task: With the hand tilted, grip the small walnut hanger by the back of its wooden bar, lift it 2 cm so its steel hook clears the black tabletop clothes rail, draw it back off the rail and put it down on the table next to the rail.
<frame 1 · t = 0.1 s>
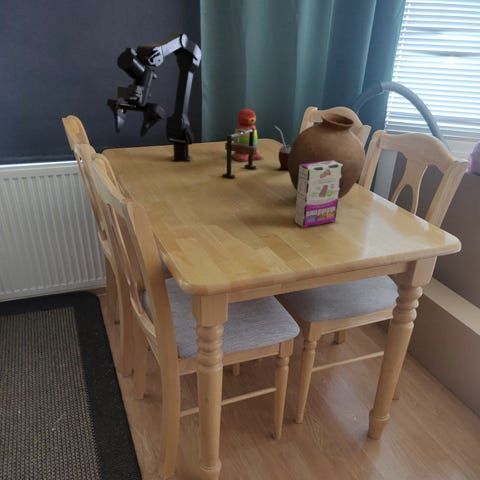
hand: (129, 135, 153), 15 cm above the table, tool tilted 35°, fingers open, 9 cm apart
clothes rail: (239, 172, 173), on the table
mate gourd: (285, 169, 178), on the table
pottery: (320, 198, 153), on the table
candy bar box: (314, 223, 136), on the table
hanger: (240, 148, 168), point 8 cm above the table, touching clothes rail
stacking bear: (245, 157, 190), on the table
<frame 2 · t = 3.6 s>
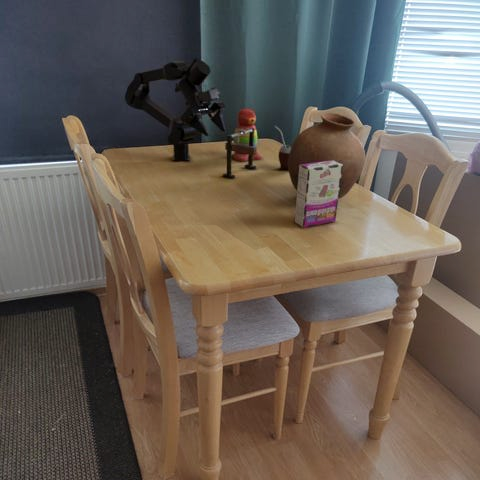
hand: (216, 133, 169), 12 cm above the table, tool tilted 45°, fingers open, 9 cm apart
nothing on the table moved.
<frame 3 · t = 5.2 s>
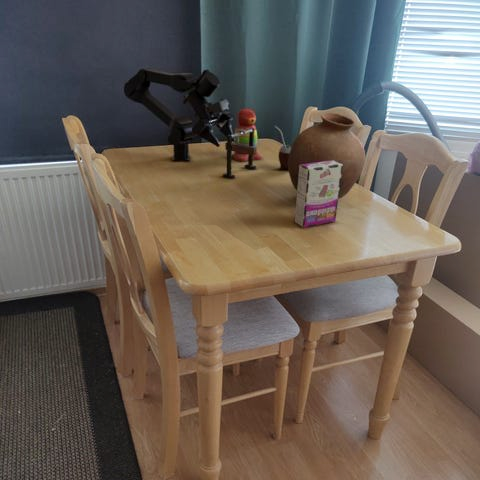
hand: (226, 143, 170), 9 cm above the table, tool tilted 45°, fingers open, 9 cm apart
nothing on the table moved.
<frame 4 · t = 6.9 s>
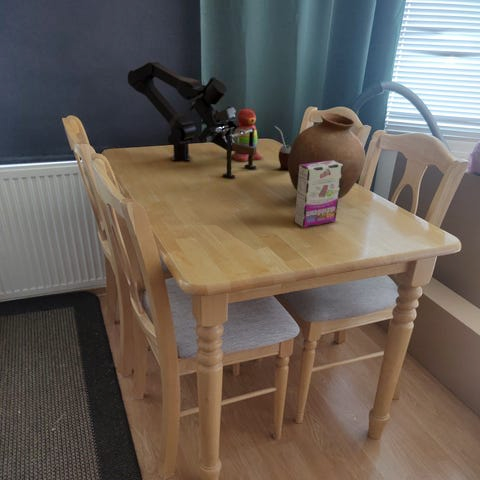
hand: (233, 151, 170), 7 cm above the table, tool tilted 45°, fingers closed on hanger, 2 cm apart
hanger: (240, 148, 168), point 8 cm above the table, touching clothes rail, gripper
everything else where it was.
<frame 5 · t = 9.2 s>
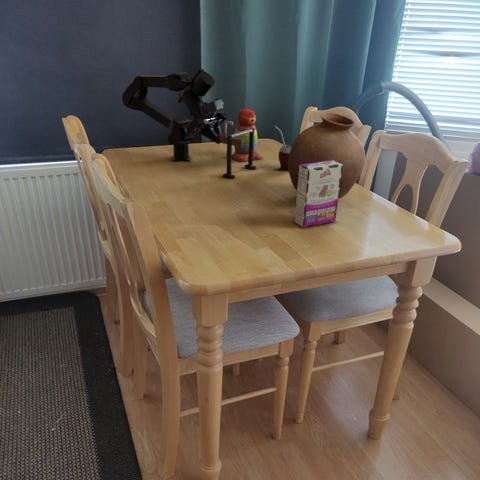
hand: (221, 142, 171), 9 cm above the table, tool tilted 45°, fingers closed on hanger, 2 cm apart
hanger: (228, 140, 169), point 10 cm above the table, touching gripper
everything else where it was.
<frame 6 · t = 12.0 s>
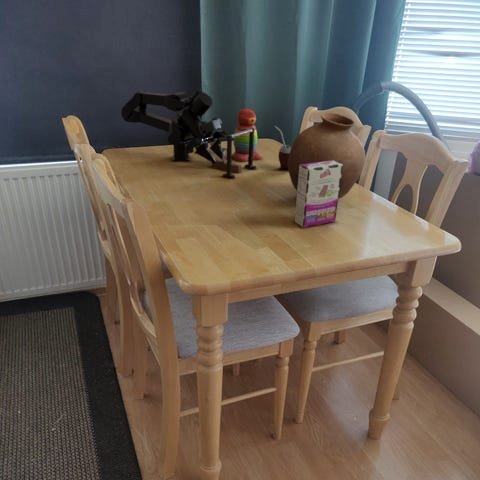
hand: (219, 161, 175), 3 cm above the table, tool tilted 45°, fingers open, 5 cm apart
hanger: (226, 166, 175), point 1 cm above the table
everything else where it was.
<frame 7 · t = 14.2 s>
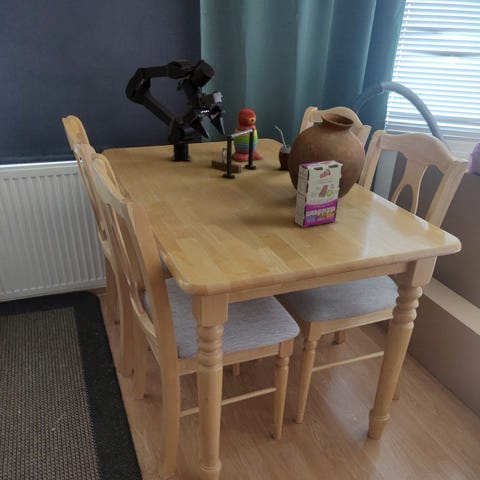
hand: (216, 136, 170), 11 cm above the table, tool tilted 40°, fingers open, 9 cm apart
nothing on the table moved.
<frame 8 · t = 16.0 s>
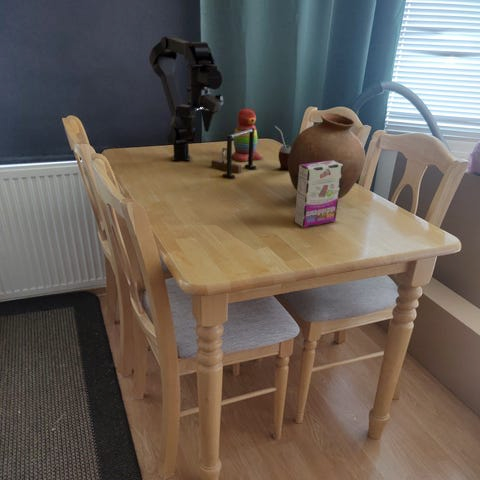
hand: (198, 133, 169), 12 cm above the table, tool pointing down, fingers open, 9 cm apart
nothing on the table moved.
at the end: hanger inside the target area (0.2 cm from its centre), point 1.2 cm above the table; hanger touching table; the gripper is holding nothing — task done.
